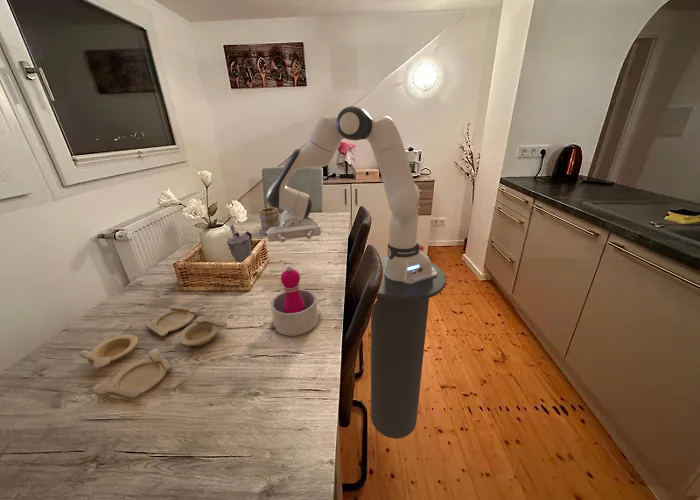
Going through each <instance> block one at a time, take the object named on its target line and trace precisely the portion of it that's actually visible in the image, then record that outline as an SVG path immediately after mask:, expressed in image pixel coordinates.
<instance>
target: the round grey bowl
mask: <svg viewBox="0 0 700 500" xmlns="http://www.w3.org/2000/svg"><path fill="white" fill-rule="evenodd" d="M299 294H300V297H301V298H302V300H303V301H304V303H305V310H303V311H300V312H296V313H284V312H283V305H284V302H285V299H286V291H282V292H280V293H278V294H277V295H276V296H274V297H273V298H272V300H271V302H270V310H271V315H272V321H273V326H274V329H275V331H277V332H278V334H281V335H284V336H289V337H290V336H293V337H295V336H300V335H303V334H306V333H308V332H310V331H311V330H313V329H314V328H315V327H316V326H317V324H318V323H319V310H318V298H317V295H316V294H315V293H314V292H313V291H310V290H309V289H303V288H299Z"/></svg>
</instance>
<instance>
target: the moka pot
mask: <svg viewBox="0 0 700 500" xmlns="http://www.w3.org/2000/svg"><path fill="white" fill-rule="evenodd" d="M235 235H236V236H234V237H232V238H229V239H227V241H226V244H227V247H228V246H229V248H228V250H229V249H230V251H231V254H232V256H233V257H234V259H235V261H234V262H235V263H236V262H242V261H243V260H245V259H246V258H247V257H248V256H249V255H250V254H251V255H252V253H253V252H252V251H253V240H252V239H253V236H252V233H251V232H250V231H248V230H246V231H245V233H242V234H240V233H236V234H235Z"/></svg>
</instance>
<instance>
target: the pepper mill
mask: <svg viewBox="0 0 700 500" xmlns="http://www.w3.org/2000/svg"><path fill="white" fill-rule="evenodd" d="M285 269H286V270H284V271H283V272H282V273H281V276H280V283H281V284H282V285H283V286H282V287H283V292H285V291H286V299H285V302H284V305H283V312H284V313H296V312H300V311H303V310H305V303H304V301H303V300H302V298H301V297H300V294H299V289H301V286H300V281H301V275H300V273H299V271H298V270H296V269H293V266H291V265H287V266H286V268H285Z"/></svg>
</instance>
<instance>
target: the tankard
mask: <svg viewBox="0 0 700 500" xmlns="http://www.w3.org/2000/svg"><path fill="white" fill-rule="evenodd" d="M279 218H280V211H278V208H274V207H271V206H270V204H269V203H266V207H264V208H262V209H261V208H260V210H259V219H260V220H261V221H260V227H261V228H260V233H261V234H263V235H267V230H268V229H269V228H271V227H277V226H281V218H280V219H279Z"/></svg>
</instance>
